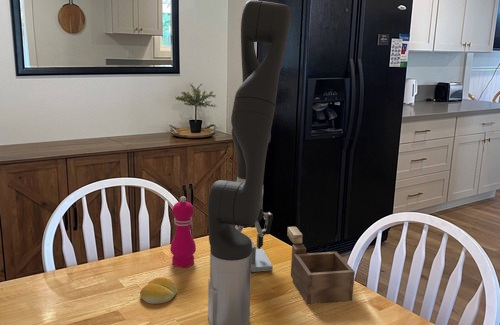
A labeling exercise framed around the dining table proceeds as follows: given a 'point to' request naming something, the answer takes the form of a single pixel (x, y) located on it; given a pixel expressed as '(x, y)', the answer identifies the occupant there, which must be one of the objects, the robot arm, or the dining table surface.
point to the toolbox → (321, 276)
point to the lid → (259, 260)
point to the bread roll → (158, 291)
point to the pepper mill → (183, 234)
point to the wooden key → (294, 235)
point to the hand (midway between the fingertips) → (247, 248)
